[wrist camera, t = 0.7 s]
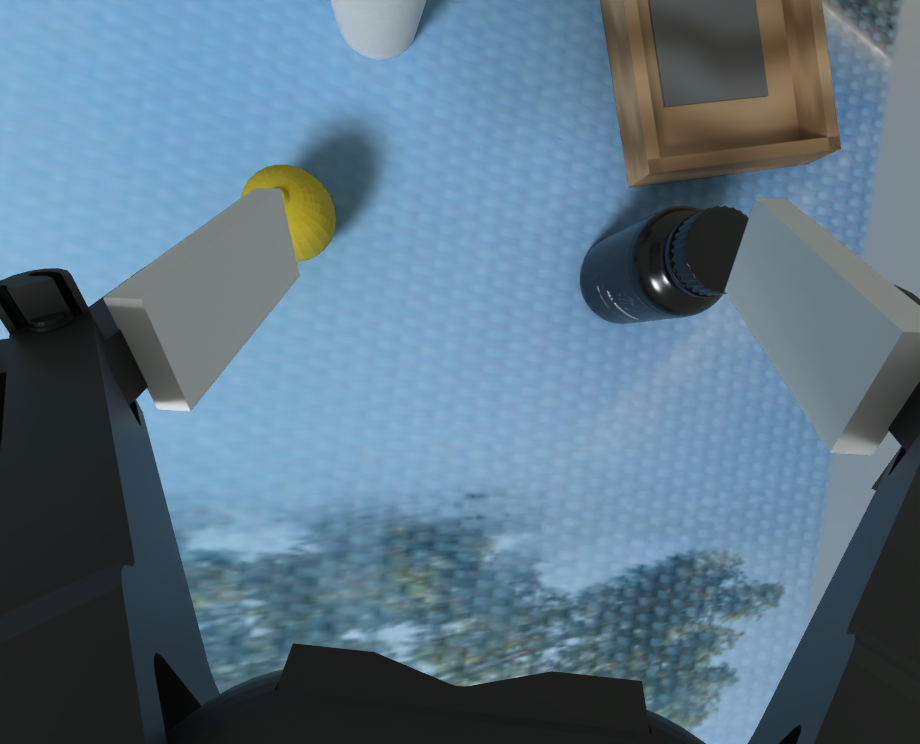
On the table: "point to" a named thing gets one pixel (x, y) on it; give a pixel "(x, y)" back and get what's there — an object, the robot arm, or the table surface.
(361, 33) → the dixie cup
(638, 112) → the tray
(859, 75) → the table surface
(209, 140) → the table surface
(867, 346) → the robot arm
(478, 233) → the table surface
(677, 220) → the supplement bottle
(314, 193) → the lemon
